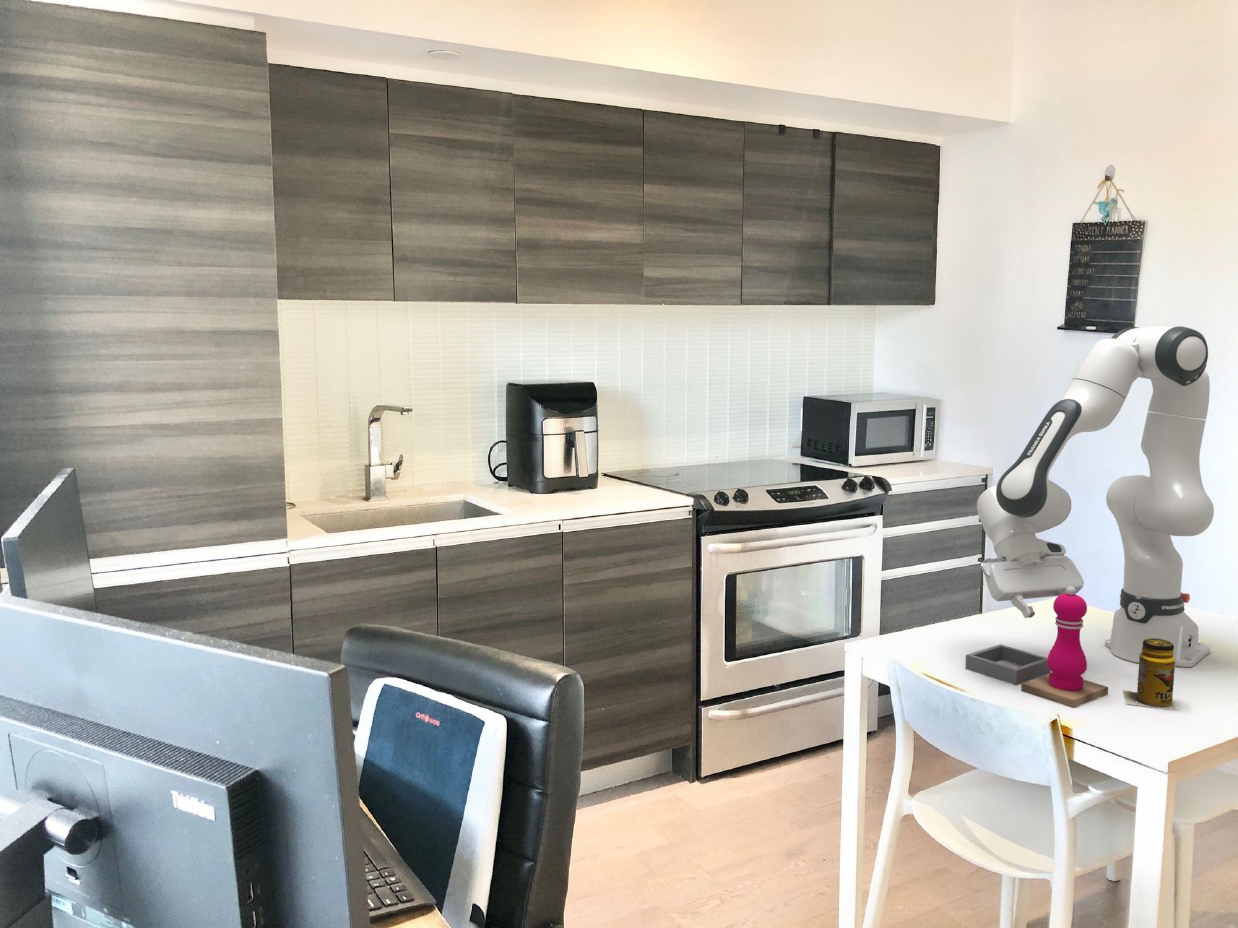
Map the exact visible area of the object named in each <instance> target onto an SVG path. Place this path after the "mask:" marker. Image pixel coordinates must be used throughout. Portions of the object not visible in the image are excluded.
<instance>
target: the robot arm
mask: <svg viewBox="0 0 1238 928" xmlns="http://www.w3.org/2000/svg"><path fill="white" fill-rule="evenodd" d="M1208 358H1209V347H1208V343H1207V340H1206V337H1205V336H1204V335H1203V334H1202V333H1201V332H1199V331H1197V330H1196V329H1194V328H1191V327H1187V326H1182V325H1181V326H1180V325H1178V326H1173V325H1159V324H1157V325H1155V324H1154V325H1151V326H1150V325H1149V326H1140V327H1139V326H1131V327H1126V328H1124V329H1121V330H1119V331H1118V332H1116V333H1115V334H1113V336H1112V337H1110V338H1103V339H1100V340H1098V341H1097V342H1095V343H1094V344H1093V346H1092V347H1091V348H1090V350H1088V352H1087V353H1086V355H1085V356H1084V358H1083V359H1082V360H1081V362H1080V364H1079V365H1078V367H1077V369H1076V370H1075V372H1074V375H1073V376H1072V378H1071V380H1070V382H1069V385H1068V386H1067V388H1066V389H1065V391H1064V392H1063V395H1062V396H1061V397H1060V398H1059V400H1058V401H1057V402H1056V403H1054V404H1053V406H1052V407H1051V408H1050V409H1049V410H1048V411H1047V413H1046V415H1045V416H1044V417H1043V419H1042V420H1041V422H1040V423H1039V425H1038V427H1036V430H1035V432H1034V433H1033V435H1032V436H1031V438H1030V440H1029V441H1028V443H1027V444H1026V446H1025V448H1024V449H1023V451H1022V452H1021V454H1020V455H1019V456H1018V458H1017V459H1016V461H1015V462H1014V463H1013V464H1012V465H1011V466H1010V467H1009V468H1007V470H1006V471H1005V472H1004V473H1003V474H1001V476H1000V478H999V480H998V482H997V484H995V485H992V486H991V487H989V488H987V489H985V490H984V491H983V492H982V493H981V494H980V495H979V497H978V498H977V500H976V511H977V513H978V514H977V515H978V518H979V521H980V523H981V525H982V527H983V528H982V529H983V530H984V532H985V534H986V536H987V537H988V539H990V541H991V542H992V545H993V550H994V553H995V555H996V557H994V558H990V557H989V558H985V559H984V560H983V561H982V562H981V564H980V569H981V571H982V573H983V575H984V577H985V578H984V579H985V581H986V586H987V588H988V590H989V594H990V595H991V598H992V599H994V600H995V601H996V602H1006V601H1007V602H1008V601H1010V602H1011V603H1012V605H1013V607H1015V608H1016V609H1017V610H1019V611H1020V612H1021V613H1022V616H1023V618H1025V619H1028V618H1029V619H1031V618H1033V617H1034V616H1035V610H1034V608H1033V606H1032V605H1031V606H1030V605H1028V604H1026V602H1025V601H1024V600H1028V599H1040V598H1050V597H1058V596H1060V595H1062V594H1067V593H1066V589H1067V588H1068V587H1070V586H1072V587H1074V588H1075V589H1076V593H1075V594H1076V595H1077V594H1078V593H1079V591H1081V590H1082V589H1083V588H1084V579H1083V577H1082V574H1080V573H1081V572H1080V571H1079V569H1078V568H1077V566H1076V564H1075V563H1074V561H1073V560H1072V559H1071V558H1070V557H1069V556H1067V555H1065V554H1066V552H1067V551H1066V548H1065V546H1064V545H1062V544H1060V543H1055V542H1051V541H1047V540H1044V539H1041V538H1038V536H1037V535H1036V534H1038V533H1042V532H1044V531H1047V530H1050V529H1052V528H1055V527H1057V526H1059V525H1061V524H1062V523H1064V522H1065V521H1066V520H1067V519H1068V517H1069V515H1070V514H1071V510H1072V499H1071V497H1070V495H1069V493H1068V492H1067V490H1066V489H1064V488H1063V487H1061V486H1060V485H1059V484H1057V483H1055V482H1054V481H1052V480H1050V479H1049V474H1050V470H1051V469H1052V468H1053V466H1054V464H1055V462H1056V461H1057V459H1058V457H1059V456H1060V455H1061V453H1062V451H1063V449H1065V448H1064V447H1065V446H1066V444H1067V443H1068V441H1070V439H1071V438H1073V437H1074V436H1076V435H1077V434H1080V433H1090V432H1097V431H1100V430H1103V429H1105V428H1107V427H1109V426H1110V425H1111V424H1112V423H1113V422H1114V420H1115V419H1116V417H1117V416H1118V414H1119V413H1120V412H1121V409H1122V407H1123V406H1124V403H1125V401H1126V399H1127V398H1128V395H1129V393H1130V390H1131V388H1132V385H1133V383H1135V381H1136V380H1138V378H1141V379H1148V380H1150V382H1151V385H1152V394H1151V396H1150V400H1149V401H1150V402H1149V404H1148V409H1147V413H1146V418H1145V423H1144V428H1143V432H1142V437H1141V441H1140V442H1141V443H1140V448H1141V450H1142V453H1143V454H1144V456H1145V457H1146V459H1147V463H1148V468H1149V476H1147V475H1142V474H1141V475H1140V474H1139V475H1138V474H1137V475H1136V474H1135V475H1134V474H1133V475H1127V476H1121V477H1118V478H1117V479H1115V480H1114V481H1113V482H1112V483H1111V484H1110V485H1109V487H1108V489H1107V491H1106V497H1105V498H1106V499H1105V501H1106V505H1107V508H1108V510H1109V511H1110V513H1111V514H1112V515H1113V517H1114V519H1115V521H1116V523H1117V527H1118V530H1119V533H1120V537H1121V542H1122V547H1123V557H1124V565H1123V567H1124V568H1123V587H1122V588H1121V590H1120V594H1119V600H1120V601H1119V606H1120V608H1118V609H1117V610H1115V611H1114V613H1113V618H1112V626H1111V630H1110V631H1111V633H1110V639H1106V640H1105V641H1104V645H1105V646H1106V647H1107V648H1109V650H1110V651H1111V652H1110V653H1112V654H1113V655H1114V656H1117V657H1119V658H1121V659H1123V660H1126V661H1129V662H1134V663H1137V664H1139V657H1140V654H1141V652H1142V647H1143V641H1144V640H1145V639H1149V638H1156V639H1163V640H1166V641H1169V642H1171V643H1172V644H1173V645H1174V649H1173V652H1174V654H1173V657H1174V658H1175V667H1185V668H1192V667H1194V666H1195V665H1196V664H1198V662H1200V661H1201V660H1202V659H1203V658H1205V656H1207V655H1208V654H1209V653H1210V650H1211V649H1210V647H1209V646H1208V645H1205V644H1204V643H1201V642H1199V626H1198V624H1197V623H1196V622H1195V621H1194V620H1193V619H1192V618H1191V617H1190V616H1189V615H1188V614H1187V613H1186V612H1185V604H1188V603H1189V602H1190V599H1191V595H1190V594H1189V593H1187V592H1186V593H1183V592H1182V584H1183V583H1182V582H1183V581H1182V579H1183V569H1184V568H1183V567H1184V564H1183V563H1184V561H1183V558H1182V556H1181V554H1180V553H1179V552H1178V550H1177V549H1176V547H1175V545H1174V542H1173V540H1172V537H1195V536H1198V535H1199V536H1200V534H1202V533H1204V532H1205V531H1206V530H1207V529H1208V528H1209V527H1210V525H1211V524H1212V521H1213V519H1214V514H1215V508H1214V504H1213V501H1212V500H1211V498H1210V497H1209V495H1208V494H1207V492H1206V491H1205V488H1204V484H1203V481H1202V476H1201V469H1200V468H1201V467H1200V454H1201V449H1202V447H1201V446H1202V442H1203V436H1204V430H1205V426H1206V421H1207V416H1208V412H1209V403H1210V389H1211V388H1210V387H1211V386H1210V385H1211V384H1210V376H1209V374H1208V373H1207V371H1206V368H1207V363H1208Z"/></svg>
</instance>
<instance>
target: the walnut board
mask: <svg viewBox="0 0 1238 928" xmlns="http://www.w3.org/2000/svg"><path fill="white" fill-rule="evenodd" d="M1049 674H1050V673H1049ZM1049 674H1046V675H1043V676H1040V677H1037V678H1035V679H1032V680H1029V681H1026V682H1023V683H1021V687H1020V688H1021V692H1024V693H1027V694H1030V695H1033V696H1036V697H1039V698H1043V699H1045V700H1048V701H1052V702H1055V703H1057V704H1060V705H1063V706H1067V707H1070V708H1072V709H1073V708H1076V707H1079V706H1082V705H1084V704H1086V702H1087V703H1089V702H1091V701H1094V700H1093V699H1095V700H1097V699H1099V698H1098V697H1100V698H1102V697H1104V695H1105V696H1107V695H1109V686H1107V685H1103V684H1100V683H1097V682H1093V681H1089V680H1087V679H1084V680H1083V688H1082V689H1080V690H1073V691H1072V690H1062V689H1058V688H1055V687H1053V686H1051V685H1050V684H1049ZM1106 694H1107V695H1106ZM1081 704H1082V705H1081Z"/></svg>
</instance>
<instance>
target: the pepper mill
mask: <svg viewBox="0 0 1238 928" xmlns="http://www.w3.org/2000/svg"><path fill="white" fill-rule="evenodd" d="M1066 593H1067V594H1062V595H1060V596H1056V598H1055V599H1054V600H1053V608H1052V609H1053V611H1054V613H1055V614H1056V615H1057V616H1056V617H1055V622H1054V624H1055V625H1056V626H1057V635H1056V639H1055V641H1054V644H1053V645H1052V646H1051V649H1050V650H1049V652H1048V655H1047V657H1046V658H1047V666H1048V667H1049V669H1050V670H1051V673H1049V684H1050V685H1051V686H1053V687H1055V688H1058V689H1062V690H1072V691H1073V690H1080V689H1082V688H1083V680H1085V679H1084V677H1083V676H1082V675H1084V674H1085V673H1086V671H1087V670H1088V664H1087V663H1088V661H1087V656H1086V655H1085V652H1084V650H1083V647H1082V645H1081V640H1080V638H1081V635H1080V634H1081V630H1082V628H1083V627H1084V619H1083V618H1084V617H1085V615H1086V614H1087V612H1088V605H1087V602H1086V601H1085V599H1084V598H1083V597H1082V596H1080V595H1077V593H1076V589H1075V588H1074V587H1072V586H1070V587H1068V588H1067V589H1066ZM1075 593H1076V594H1075Z"/></svg>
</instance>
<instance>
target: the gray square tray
mask: <svg viewBox="0 0 1238 928" xmlns="http://www.w3.org/2000/svg"><path fill="white" fill-rule="evenodd" d="M1047 658H1048V657H1045V656H1041V655H1038V654H1037V653H1036V654H1034V653H1032V652H1028V651H1025V650H1021V649H1018V648H1015V647H1012V646H1008V645H1004V644H997V645H994V646H990V647H988V648H984V649H981V650H977V651H975V652H971V653H967V654H965V670H969V671H972V672H975V673H977V674H978V673H979V674H981V675H985V676H988V677H990V678H992V679H993V678H994V679H997V680H999V681H1003V682H1005V683H1008V684H1011V685H1015V686H1017V685H1021V684H1022V683H1024V682H1027V681H1030V680H1033V679H1036V678H1039V677H1042V676H1044V675H1047V674H1050V673H1051V672H1052V671H1051V670H1050V669H1049V667H1048V666H1047ZM998 661H1005V662H1007V663H1011V664H1015V665H1018V667H1012V666H1009V665H1006V664H1002V663H999V662H998Z"/></svg>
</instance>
